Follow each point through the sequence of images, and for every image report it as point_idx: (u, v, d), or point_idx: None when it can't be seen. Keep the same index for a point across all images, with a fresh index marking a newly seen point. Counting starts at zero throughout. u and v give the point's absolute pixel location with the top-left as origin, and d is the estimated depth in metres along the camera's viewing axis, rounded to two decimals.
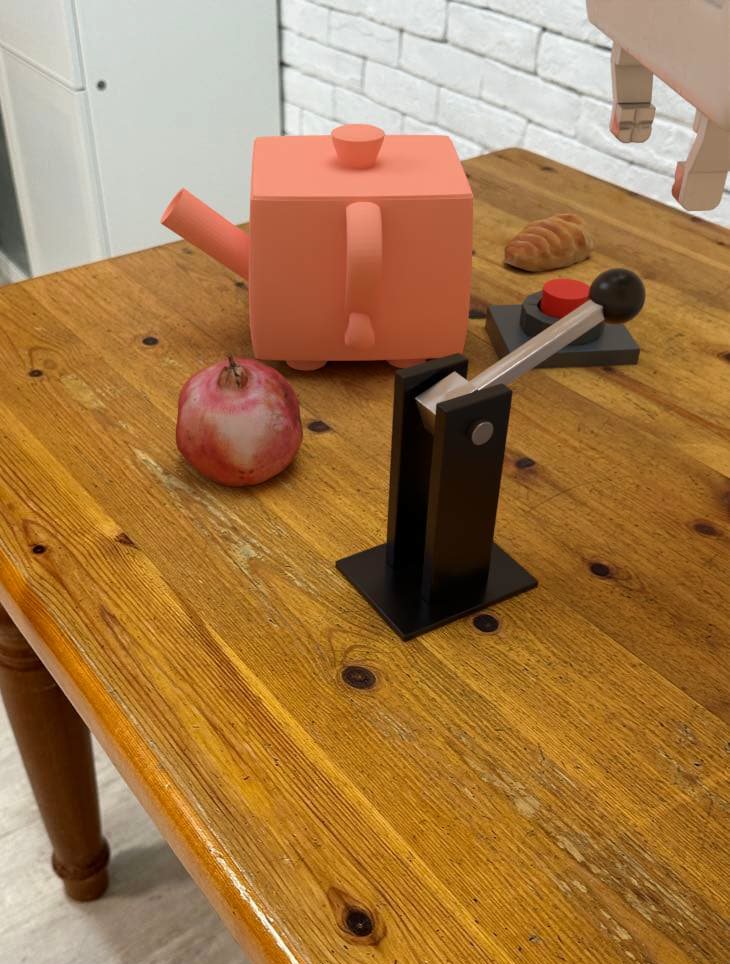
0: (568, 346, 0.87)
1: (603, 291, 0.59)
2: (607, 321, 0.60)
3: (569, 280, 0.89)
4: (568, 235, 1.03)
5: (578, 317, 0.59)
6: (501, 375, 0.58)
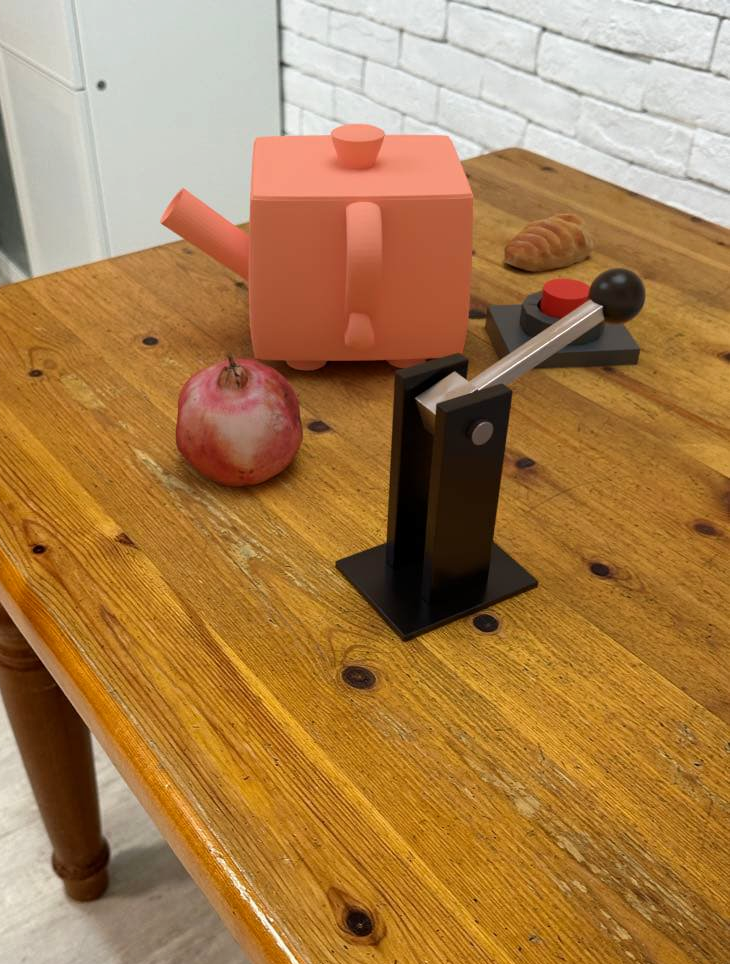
0: (568, 346, 0.87)
1: (603, 291, 0.59)
2: (607, 321, 0.60)
3: (569, 280, 0.89)
4: (568, 235, 1.03)
5: (578, 317, 0.59)
6: (501, 375, 0.58)
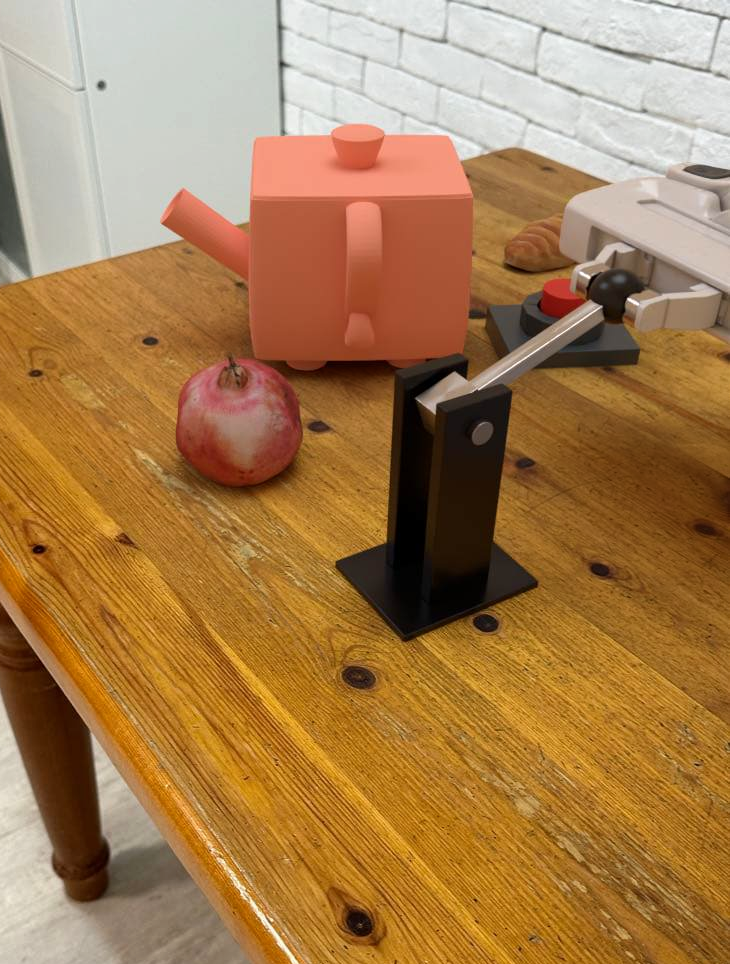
0: (568, 346, 0.87)
1: (603, 291, 0.59)
2: (607, 321, 0.60)
3: (569, 280, 0.89)
4: None
5: (578, 317, 0.59)
6: (501, 375, 0.58)
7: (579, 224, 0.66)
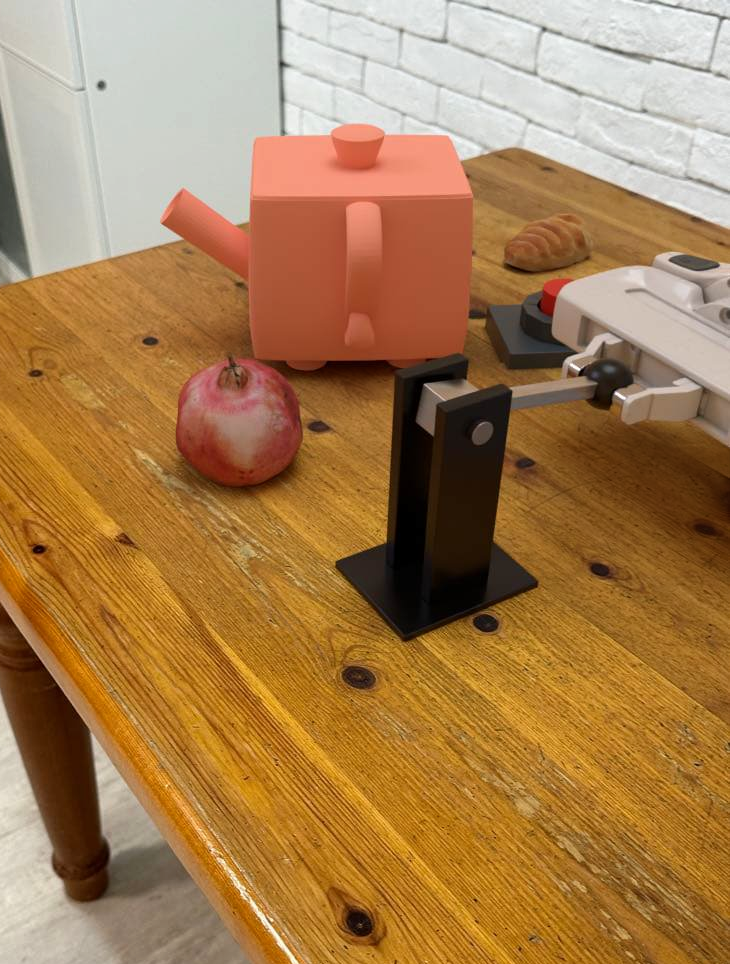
0: None
1: (602, 370, 0.63)
2: (594, 400, 0.63)
3: (569, 280, 0.89)
4: (568, 235, 1.03)
5: (575, 383, 0.62)
6: None
7: (570, 312, 0.70)
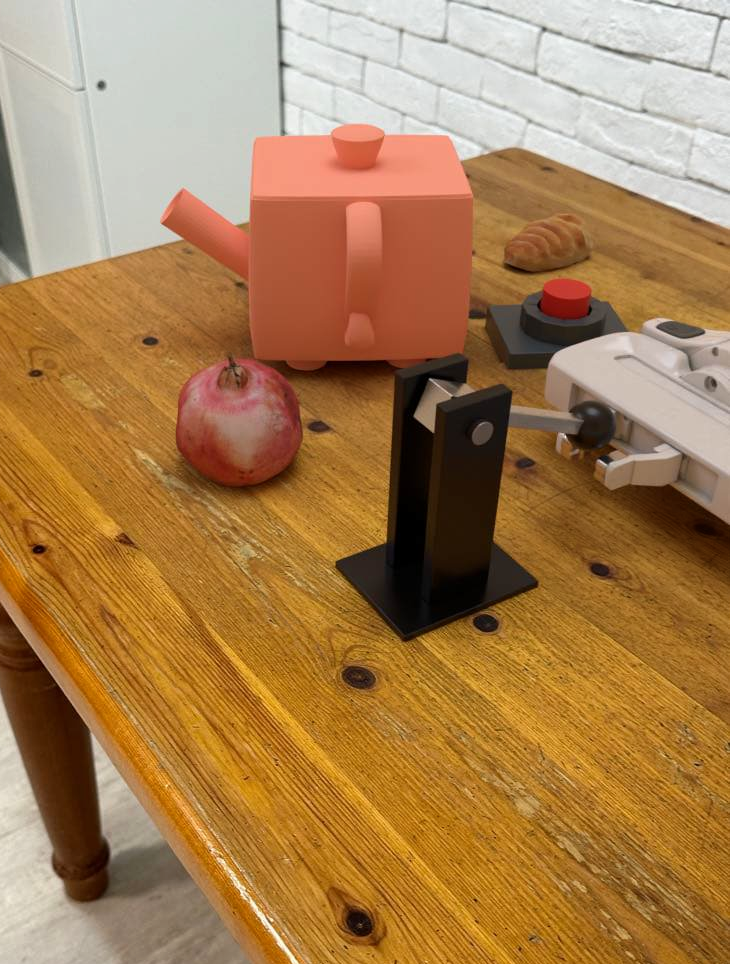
0: (568, 346, 0.87)
1: (589, 409, 0.64)
2: (578, 438, 0.64)
3: (569, 280, 0.89)
4: (568, 235, 1.03)
5: (564, 415, 0.63)
6: None
7: (561, 379, 0.73)
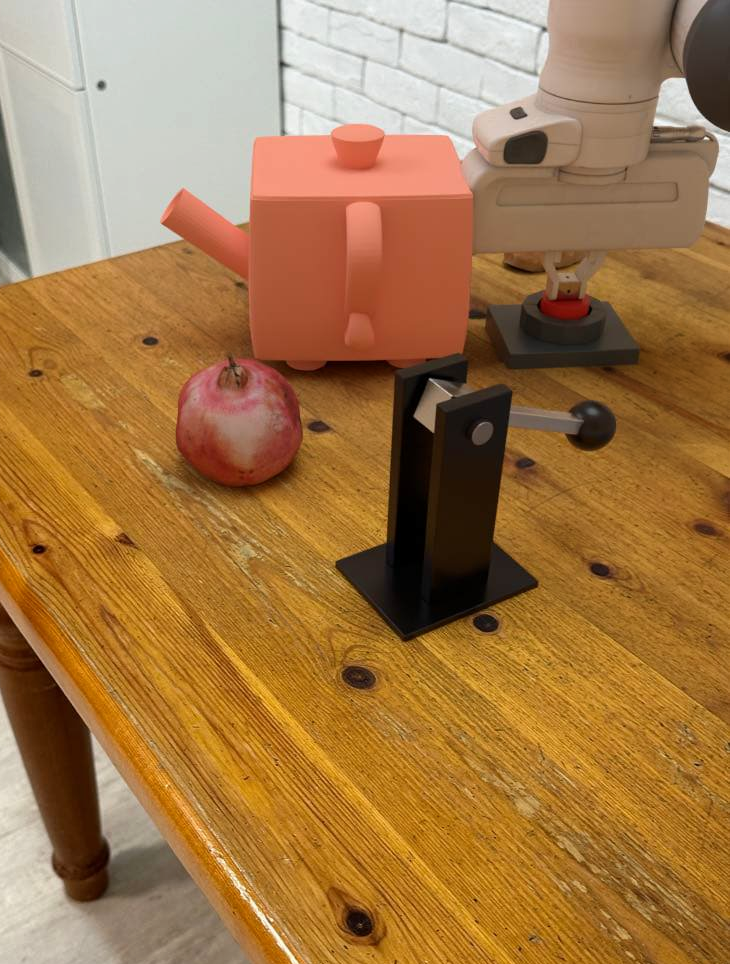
0: (568, 346, 0.87)
1: (589, 409, 0.64)
2: (578, 438, 0.64)
3: None
4: None
5: (564, 415, 0.63)
6: None
7: None
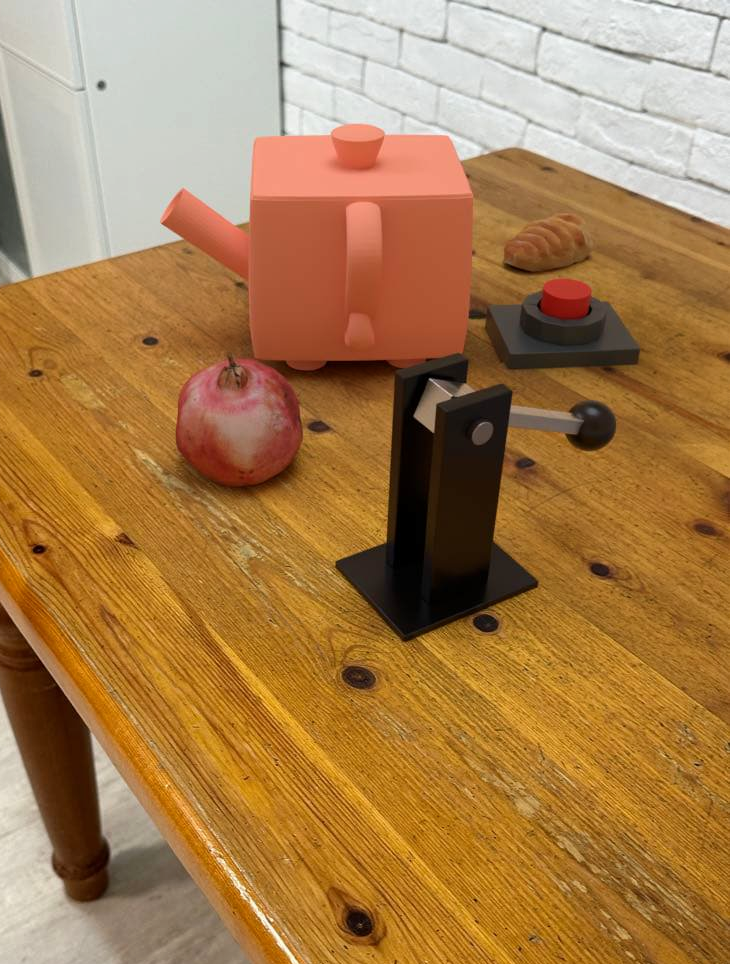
0: (568, 346, 0.87)
1: (589, 409, 0.64)
2: (578, 438, 0.64)
3: (569, 280, 0.89)
4: (568, 235, 1.03)
5: (564, 415, 0.63)
6: None
7: None
